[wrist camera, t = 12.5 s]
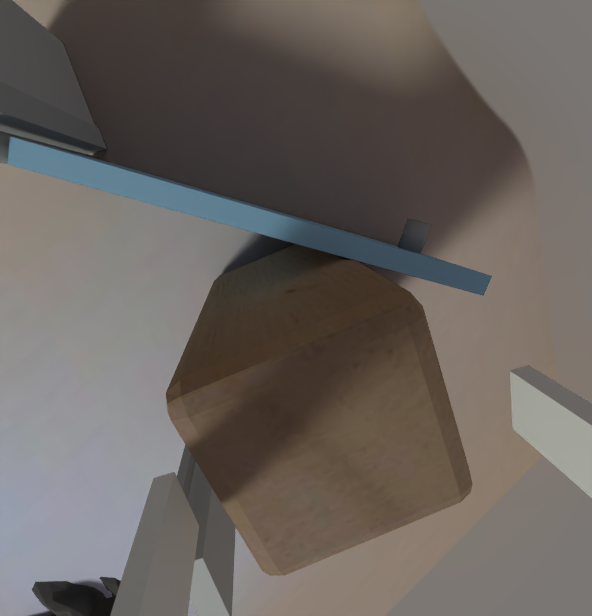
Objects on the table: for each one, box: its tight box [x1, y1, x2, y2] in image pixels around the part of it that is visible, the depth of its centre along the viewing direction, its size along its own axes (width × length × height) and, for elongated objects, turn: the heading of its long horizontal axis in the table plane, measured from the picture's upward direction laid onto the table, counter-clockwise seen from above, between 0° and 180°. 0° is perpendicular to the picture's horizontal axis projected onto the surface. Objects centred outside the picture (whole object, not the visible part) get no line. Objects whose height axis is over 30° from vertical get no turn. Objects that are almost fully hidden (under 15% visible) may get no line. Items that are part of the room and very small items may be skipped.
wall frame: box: [0, 0, 235, 616], centre depth 25 cm, size 41×3×13 cm, turn 14°
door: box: [0, 131, 492, 295], centre depth 23 cm, size 27×3×12 cm, turn 74°
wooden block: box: [166, 244, 472, 576], centre depth 23 cm, size 10×10×20 cm
